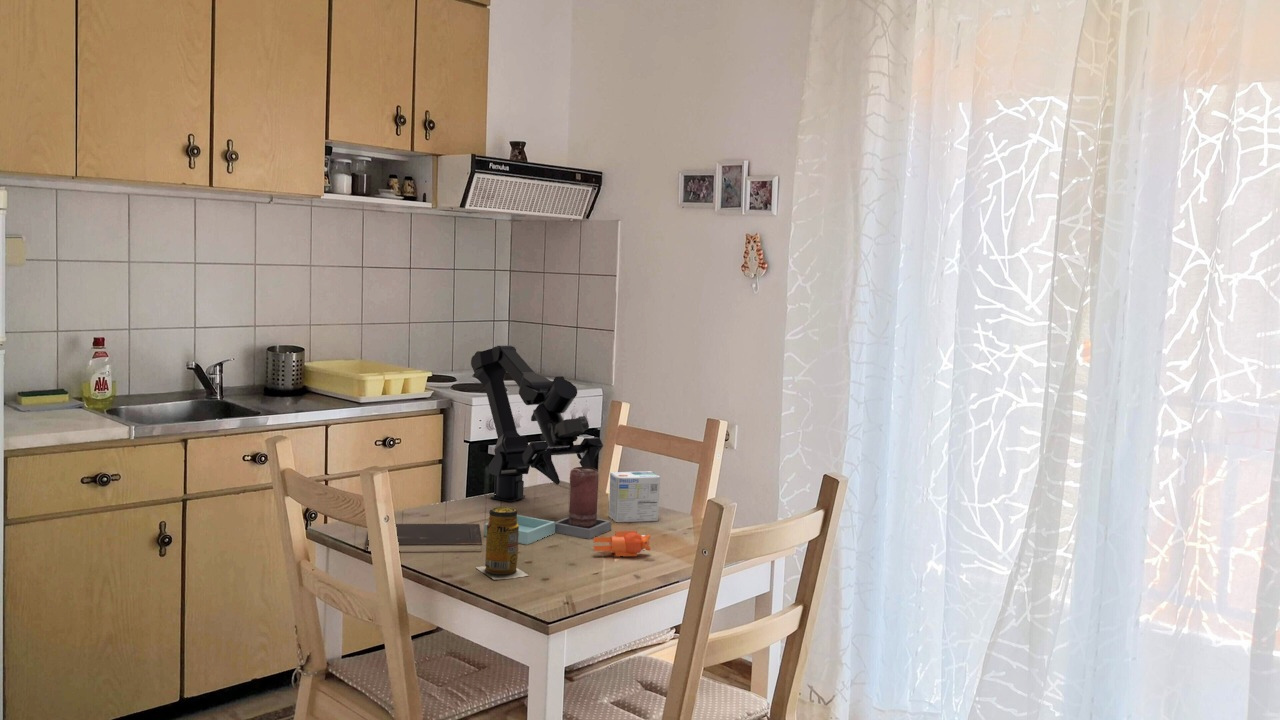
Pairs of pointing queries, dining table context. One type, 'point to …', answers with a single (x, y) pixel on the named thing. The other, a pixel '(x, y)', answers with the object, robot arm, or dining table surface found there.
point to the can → (583, 497)
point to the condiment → (502, 545)
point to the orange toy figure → (624, 543)
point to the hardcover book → (438, 537)
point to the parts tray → (531, 529)
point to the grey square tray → (565, 528)
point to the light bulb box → (634, 496)
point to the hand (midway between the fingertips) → (576, 481)
